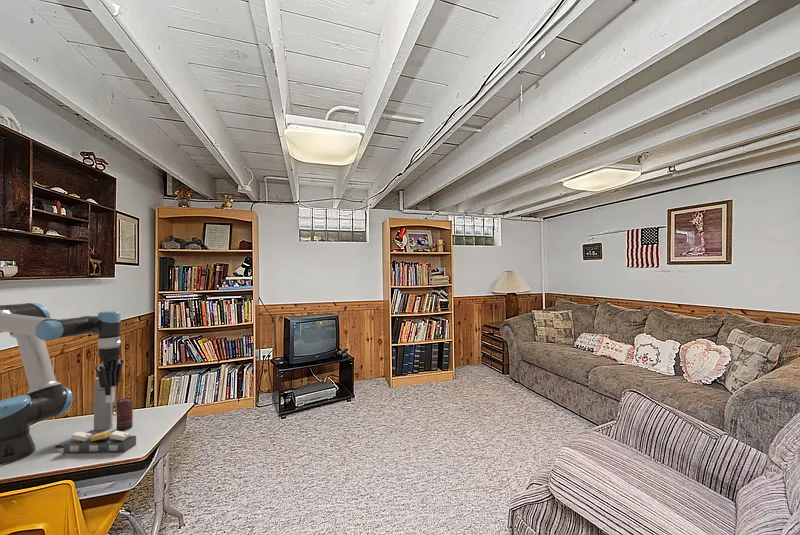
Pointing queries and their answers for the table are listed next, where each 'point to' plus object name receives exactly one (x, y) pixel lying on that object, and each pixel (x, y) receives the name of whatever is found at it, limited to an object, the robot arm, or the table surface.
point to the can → (124, 414)
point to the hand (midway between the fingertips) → (110, 401)
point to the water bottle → (102, 409)
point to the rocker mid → (100, 436)
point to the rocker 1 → (81, 436)
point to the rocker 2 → (119, 435)
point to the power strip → (98, 446)
